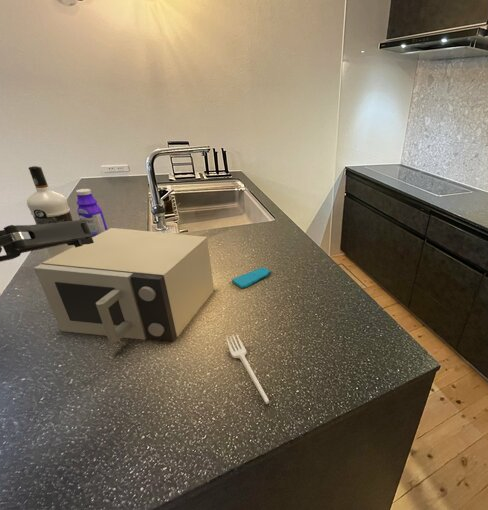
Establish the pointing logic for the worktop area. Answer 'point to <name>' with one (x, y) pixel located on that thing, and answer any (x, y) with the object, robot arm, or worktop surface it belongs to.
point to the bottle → (90, 211)
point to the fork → (245, 364)
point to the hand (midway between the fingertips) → (38, 249)
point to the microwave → (152, 273)
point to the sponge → (251, 277)
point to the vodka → (48, 207)
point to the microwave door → (92, 301)
